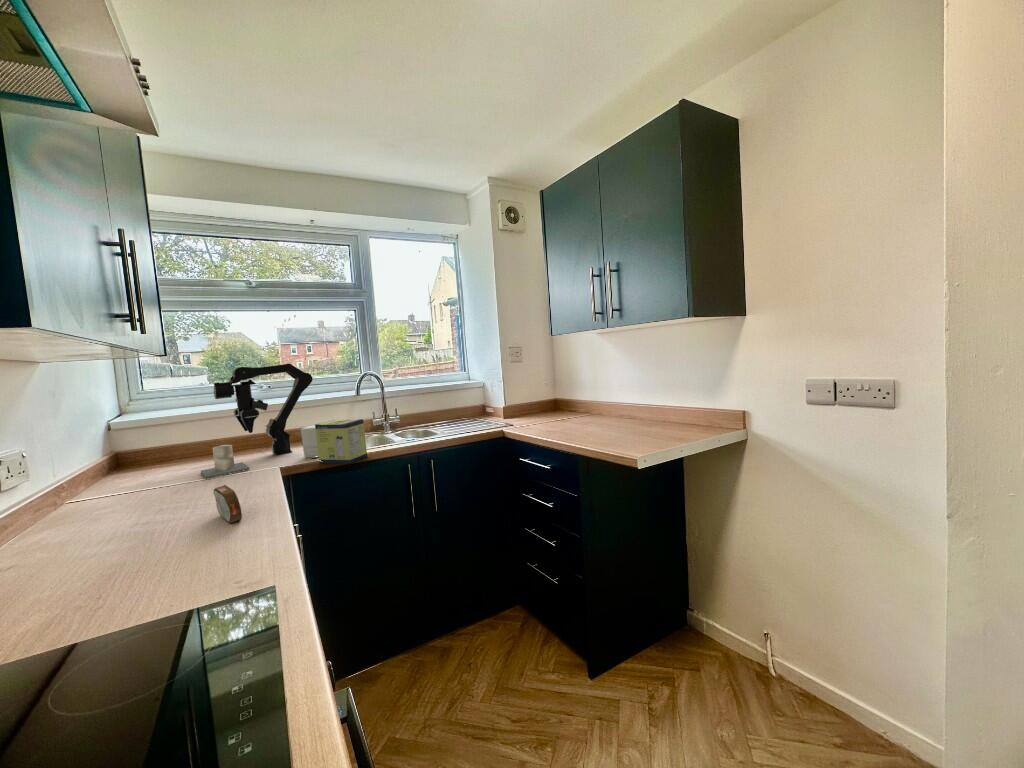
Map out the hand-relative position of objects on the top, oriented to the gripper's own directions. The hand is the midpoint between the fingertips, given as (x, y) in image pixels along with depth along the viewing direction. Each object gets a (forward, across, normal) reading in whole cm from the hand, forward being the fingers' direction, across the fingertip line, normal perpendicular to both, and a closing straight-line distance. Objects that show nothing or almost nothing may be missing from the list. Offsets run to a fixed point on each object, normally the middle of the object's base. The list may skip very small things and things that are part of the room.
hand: (248, 431), depth 185 cm
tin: (+12, -80, +20) cm, 83 cm away
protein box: (+12, -42, -24) cm, 50 cm away
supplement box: (+12, -22, -20) cm, 32 cm away
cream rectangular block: (+11, -15, +12) cm, 22 cm away
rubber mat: (+12, -15, +12) cm, 23 cm away
